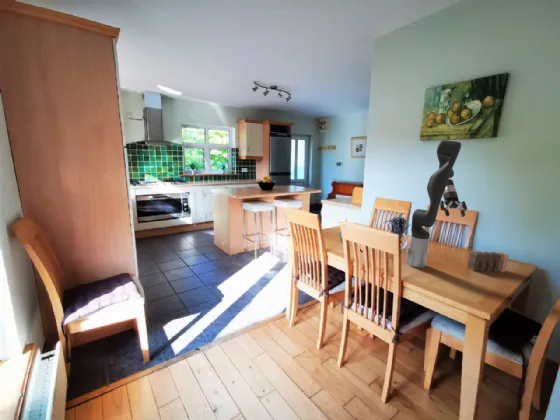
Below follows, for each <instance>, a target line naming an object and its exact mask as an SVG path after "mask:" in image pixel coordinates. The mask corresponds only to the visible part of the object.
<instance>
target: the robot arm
mask: <svg viewBox="0 0 560 420" xmlns="http://www.w3.org/2000/svg"><path fill="white" fill-rule="evenodd" d="M461 149H462V143H461V142H460V141H457V140H455V141H454V140H448V139H447V140H445V139H443V140H441V141H439V143H438V146H437V148H436V157H437V160H438V163H439V164H438V165H439V166H438V169H437V170H436V171H435V172H434V173H432V174H431V176H430V177H429V180H428V182H427V185H426V192H427V194H428V198H429V207H428V210H426V209H421V208H417V209H415V210H414V211H413V213H412V217H411V228H410V231H411V236H410V237H411V238H410V243H409V247H408V249H407V250H408V251H407V256H406V257H407V258H406V264H408V265H409V266H410V267H414V268H421V269H422V268H425V267H426V264H427V256H428V248H429V243H430V236H431V235H430V233H429V232H428V231H427V230H426V229H425V228H431V227H433V226H434V225H435V222H436V219H437V217H438V212H439V208H440V211H444V214H445V216H446V217H450V212H449V209H456V210H458V211H459V213H460V215H461V217H462V218H464V217H465V216H466V213H465V212H466V211H467V210H468V207H467V204H466V202H465V200H464V201H460V199H459V196H458V195H459V194H458V192H457V189H456V186H455V183H454V180H453V179H452V178H453V177H454V175H455V172H454V169H453V167H454V166H455V163H456V161H457V158H458V157H459V154H460V152H461ZM442 198H443V199H442ZM445 206H446V207H445ZM424 227H425V228H424Z"/></svg>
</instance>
